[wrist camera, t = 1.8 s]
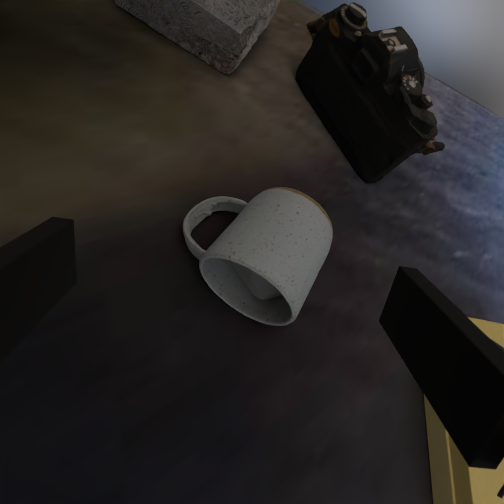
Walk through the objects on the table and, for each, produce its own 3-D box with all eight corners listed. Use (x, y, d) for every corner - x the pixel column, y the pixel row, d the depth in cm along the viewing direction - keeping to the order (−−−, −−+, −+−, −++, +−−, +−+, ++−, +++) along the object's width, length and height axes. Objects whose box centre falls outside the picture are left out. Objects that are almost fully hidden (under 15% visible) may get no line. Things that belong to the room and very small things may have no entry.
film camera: (425, 141, 42) (506, 78, 33) (383, 200, 36) (468, 143, 27) (320, 40, 41) (373, -52, 32) (260, 84, 35) (305, -13, 27)
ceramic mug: (310, 256, 30) (362, 221, 24) (267, 334, 27) (313, 318, 20) (214, 186, 30) (239, 128, 23) (156, 255, 26) (165, 211, 19)
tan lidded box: (416, 316, 32) (447, 310, 29) (494, 331, 35) (529, 327, 32) (434, 520, 26) (475, 540, 23) (526, 519, 29) (574, 536, 26)
